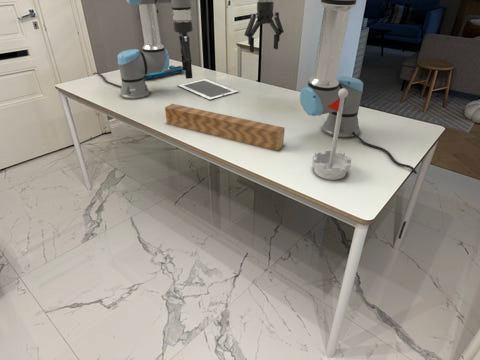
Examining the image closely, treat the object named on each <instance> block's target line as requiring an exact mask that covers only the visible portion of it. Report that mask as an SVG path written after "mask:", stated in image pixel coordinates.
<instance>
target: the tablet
mask: <svg viewBox="0 0 480 360" xmlns="http://www.w3.org/2000/svg"><path fill="white" fill-rule="evenodd" d="M177 87H180V88H182V89H184V90H186V91H188V92H191V93H193V94H195V95H198V96H200V97H202V98H204V99H207V100H209V101H211V100H215V99H219V98H223V97H226V96H229V95H233V94H237V93H239V91H238V90H236V89H233V88H230V87H228V86H226V85H223V84H220V83H217V82H215V81H213V80H209V79H207V78H202V79H199V80H195V81H191V82H186V83H182V84H178V85H177Z"/></svg>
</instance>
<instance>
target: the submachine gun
mask: <svg viewBox="0 0 480 360" xmlns="http://www.w3.org/2000/svg"><path fill="white" fill-rule="evenodd" d="M183 72H185V70H183V66H182V65H176V66H175V65H169V67H168V69H167V70H166V71H163V72H160V73H159V72H158V73H151V74H144V75H143V78H144V81H145V80H149V79H150V80H151V79H152V80H155V78H160V77H164V76H165V77H166V76H170V75H174V74H179V73H183Z"/></svg>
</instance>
